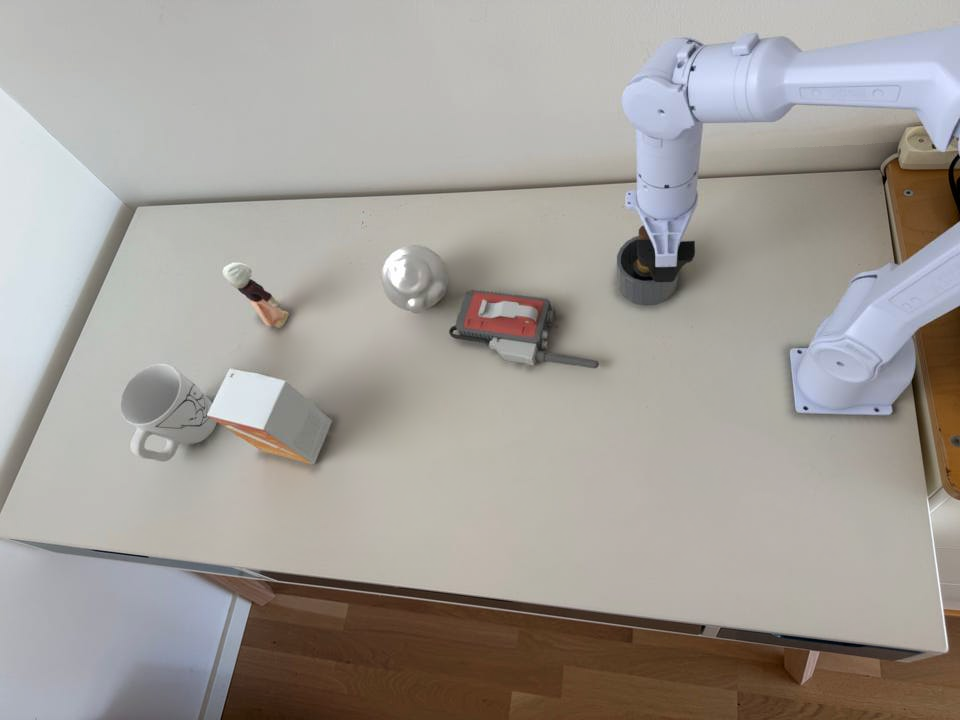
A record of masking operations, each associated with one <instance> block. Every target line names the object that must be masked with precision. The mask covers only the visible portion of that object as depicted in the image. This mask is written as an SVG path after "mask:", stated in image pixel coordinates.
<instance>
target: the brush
mask: <svg viewBox="0 0 960 720" xmlns="http://www.w3.org/2000/svg"><path fill="white" fill-rule="evenodd" d="M638 236H639V240H650V238H649V235H648V233H647V231H646V229H645V227H644V225H643V224H642V225H641V226H640V227H639V229H638ZM633 278H635V279H638V280H642V281H652V280H653V278H652V276H651V273H650V271H649V269H648V267H647V266H646V265H644V264H642V263H640V262H639V260H638V258H637V259H636V260H635V262H634V264H633Z"/></svg>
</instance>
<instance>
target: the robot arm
mask: <svg viewBox="0 0 960 720" xmlns="http://www.w3.org/2000/svg"><path fill="white" fill-rule="evenodd" d="M797 105H798V106H821V107H822V106H823V107H846V108H867V109H871V108H872V109H892V110H893V109H895V110H911V111H913V112H915V113H916V115H917V117H918V119H919V120H920V122H921V124H922V126H923V128H924V129H925V131H926V133H927V134H928V136H929V138H930V140H931V142H932V144H933V145H934V147H935V149H936V150H938V151H939V152H942V153H946V152H947V149H948V148H949V146H950V145H951V143H952V142H953V140H954V139H955V138H958V141H957V150H958V156H960V24H958V25H954V26H948V27H942V28H937V29H931V30H924V31H917V32H913V33H906V34H901V35H894V36H889V37H888V36H887V37H882V38H876V39H871V40H864V41H858V42H852V43H846V44H840V45H835V46H834V45H833V46H829V47H822V48H816V49H810V50H802V49H801V48H800V47H799V46H798V45H797V44H796V43H795V42H794V41H792V40H791V39H790V38H788V37H787V36H784V35H783V36H782V35H778V36H771V37H762V38H760V36H759V33H758V32H752V33H744V34H742V35H741V36H740V37H739V38H738V39H737V41H729V42H720V43H712V44H704V43H703V42H701V41H700V40H698V39H696V38H692V37H685V36H684V37H683V36H682V37H673V38H669V39H667V40H665V41H664V42H662V43H661V45H659V46H658V48H657V49H656V50H655V51H654V52H653V54H652V55H651V56H649V59H647V61H645V63H644V64H643V66H642V67H641V68H640V69H639V71H638V72H637V73H636V74H635V75H634V76H633V78H631V80H630V81H629V82H628V84H627V86H626V87H625V89H624V90H623V92H622V94H621V106H622V110H623V112H624V115H625V117H626V119H627V120H628V121H629V122H630V124H631V125H632V126H633V127H634V128H635V149H636V150H635V156H636V158H635V161H636V163H635V164H636V165H635V166H636V189H635V190H628V191H626V193H625V197H624V198H625V200H624V201H625V202H624V204H625V209H626V210H628V211H635V212H636V213H637V214H638V216H639V218H640V220H641V223H642V226H643V225H644V227H645V229H646V231H647V233H648V235H649V238H650V240H637V257H638V260H639V262H640V263H642V264H644V265H646V266H647V267H648V269H649V271H650V273H651V276H652V278H653V280H654V281H655V282H673V281H674V280H675V278H676V276H677V274H678V275H679V272H680V271H681V269H682V268H683V267H684V266H685V265H687V264H689V263H691V262H692V261H693V260H694V258H695V255H696V241H695V240H684V241H683V237H684V235H685V233H686V230H687V228H688V226H689V224H690V222H691V221H692V217H693V216H694V213H695V211H696V208H697V205H698V199H699V192H698V189H697V188H698V182H699V181H698V180H699V171H700V170H699V169H700V158H701V151H702V150H701V149H702V139H703V131H704V130H703V129H704V124H739V123H740V124H741V123H775V122H777V121H778V122H779V120H781V119H782V118H784V117H785V116H786V115H787V114H788V113H789V112H790V111H791V110H792V108H793V107H794V106H797ZM958 307H960V221H958V222H957V223H956V224H953V226H951V227H950V228H948V229H947V230H946V231H945V232H943V233H941V234H940V235H939V236H937V237H936V238H935V239H933V240H932V241H930V242H929V243H928V244H927V245H924V247H922V248H921V249H920V250H918V251H917V252H916V253H914V254H913V255H912V256H910V257H908V259H906V260H905V261H903V262H902V263H900V264H898V263H894V262H890V261H889V262H888V263H886V264H885V265H884V266H883V267H881V268H878V269H874V270H867V271H862V272H859V273H858V274H857V273H856V274H855V275H854V276H853V277H852V279H851V280H850V282H849V284H848V285H847V289H846V291H845V293H844V294H843V296H842V297H841V299H840V300H839V302H838V303H837V305H836V307H835V308H834V310H832V313H831V315H829V316H827V317H825V319H823V320H822V321H821V323H820V324H819V325H818V327H817V329H816V330H815V332H814V335H813V337H812V339H811V341H810V343H809V345H808V347H792V348H791V349H790V350H789V359H790V369H791V379H792V389H793V398H794V399H793V400H794V408H795V409H794V410H795V411H796V413H798V414H806V415H807V414H811V415H847V416H848V415H851V416H852V415H853V416H855V415H856V416H890V415H892V414H893V411H894V410H893V405H894V403H895V401H897V399H898V398H899V397H900V396H901V395H902V393H904V392H905V390H906V389H907V388H908V387H909V385H910V384H911V382H912V380H913V378H914V374H915V372H916V371H915V370H916V362H917V361H916V359H917V358H916V357H917V356H916V347H915V343H914V339H913V335H915V333H916V332H918V330H919V329H920V328H922V327H924V326H926V325H927V324H929V323H931V322H933V321H935V320H937V319H938V318H940V317H942V316H943V315H946V314H948V313H949V312H951V311H953V310H954V309H956V308H958ZM799 352H800V353H799ZM804 408H806V409H804ZM876 410H877V411H876Z"/></svg>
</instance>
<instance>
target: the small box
mask: <svg viewBox="0 0 960 720" xmlns="http://www.w3.org/2000/svg"><path fill="white" fill-rule="evenodd" d="M211 403H212V405H211V407H210V410H209V412H208V414H207V416H208V417H209V418H211V419H213V420H214V421H216V422H217V423H218V424H219V425H221V426H222V427H223V428H225V429H227V430H228V431H230V432H231V433H233V434H234V435H236V436H237V437H239V438H241V439H242V440H244V441H245V442H247V443H248V444H250V445H251V446H253V447H254V448H256V449H257V450H259V451H261V453H264V454H265V453H266V454H271V455H275V456H278V457H282V458H283V457H284V458H287V459H291V460H295V461H298V462H302V463H304V464H305V463H306V464H309V465H312V466H314V465H315V464H316V462H317V460H318V457H319V455H320V452H321V450H322V447H323V445H324V443H325V440H326V438H327V435H328V433H329V431H330V428H331V425H332V423H333V420H332V419H331V418H329V417H328V416H327V415H326V414H325V413H323V412H322V411H321V410H320V409H319V408H318V406H317V407H316V405H314V404H313V403H312V402H311V401H310V400H309V399H308V398H306V397H305V396H304V395H303V394H302V393H301V392H299V391H298V390H297V389H296V388H295V387H294V386H293V385H292V384H291V383H290V382H288V381H287V380H285V379H281V378H277V377H274V376H269V375H265V374H261V373H258V372H252V371H246V370H242V369H237V368H233V367H231V368H229V369H228V371H227V373H226V375H225V377H224V379H223V381H222V382H221V385H220V387H219V389H218V391H217V393H216V395H215V397H214V399H213V402H211Z"/></svg>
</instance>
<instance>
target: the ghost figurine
mask: <svg viewBox="0 0 960 720" xmlns="http://www.w3.org/2000/svg"><path fill="white" fill-rule="evenodd" d="M380 280H381V285H382V289H383V292H384V294H385V296H386V297H387V299H388V300H389V301H390V302H391V303H392V304H393V305H394V306H395V307H397V308H400V309H401V310H404V311H407V312H411V313H412V314H416V315H417V314H421V313H423V312H424V311H425V310H429V309H430V308H432V307H434V306H435V305H436V304H437V303H439V302H440V300H442V299H443V298H444V296H445V295H446V293H447V288H448V282H449V281H448V280H449V275H448V270H447V267H446V265H445V262H444V261H443V259H442V258H441V256H440V255H439V254H438V253H437V252H435V250H432V249H431V248H429V247H427V246H423V245H419V244H410V245H409V244H408V245H405V246H402V247H399V248H397V249H396V250H395V251H393V252H392V253H391V254H390V255H389V256H388V258H386V260H385V262H384V264H383V266H382V270H381V279H380Z"/></svg>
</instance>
